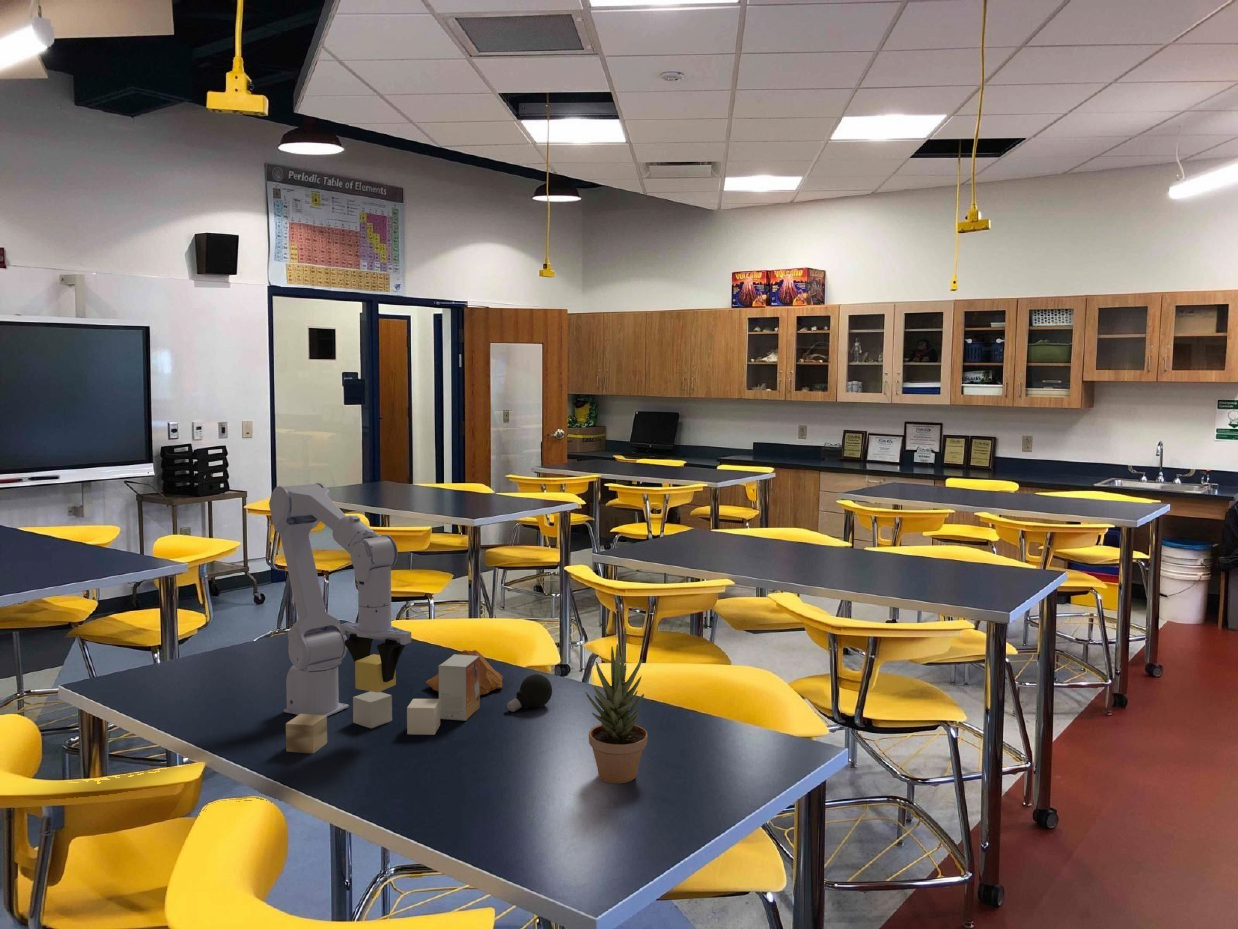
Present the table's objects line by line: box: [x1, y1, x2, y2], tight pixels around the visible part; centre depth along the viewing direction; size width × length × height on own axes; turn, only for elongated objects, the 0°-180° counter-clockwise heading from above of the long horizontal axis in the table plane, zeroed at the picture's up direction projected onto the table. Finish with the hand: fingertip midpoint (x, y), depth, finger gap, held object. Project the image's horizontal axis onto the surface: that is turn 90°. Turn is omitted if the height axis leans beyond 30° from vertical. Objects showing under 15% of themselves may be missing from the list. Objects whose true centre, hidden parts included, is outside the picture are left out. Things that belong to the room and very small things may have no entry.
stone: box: [425, 649, 504, 696], centre depth 198 cm, size 15×15×10 cm
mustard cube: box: [354, 653, 397, 693], centre depth 171 cm, size 5×5×5 cm
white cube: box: [406, 698, 441, 736], centre depth 175 cm, size 5×5×5 cm
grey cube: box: [352, 691, 393, 729], centre depth 178 cm, size 5×5×5 cm
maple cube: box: [285, 714, 328, 754], centre depth 166 cm, size 5×5×5 cm
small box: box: [438, 653, 481, 721], centre depth 183 cm, size 8×6×10 cm
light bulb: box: [506, 673, 553, 713], centre depth 187 cm, size 6×6×10 cm
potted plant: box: [585, 627, 649, 784], centre depth 154 cm, size 10×10×25 cm
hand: (375, 678), depth 171 cm, fingers closed on mustard cube, 5 cm apart
